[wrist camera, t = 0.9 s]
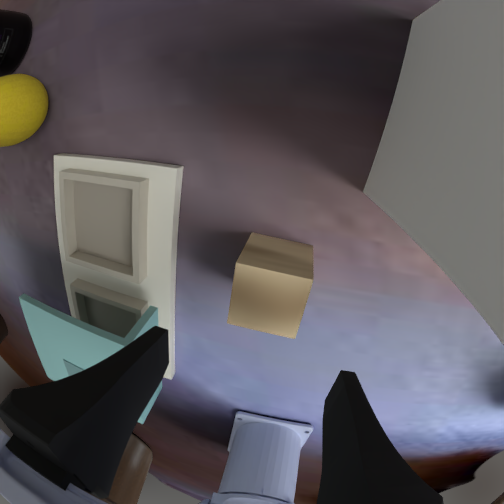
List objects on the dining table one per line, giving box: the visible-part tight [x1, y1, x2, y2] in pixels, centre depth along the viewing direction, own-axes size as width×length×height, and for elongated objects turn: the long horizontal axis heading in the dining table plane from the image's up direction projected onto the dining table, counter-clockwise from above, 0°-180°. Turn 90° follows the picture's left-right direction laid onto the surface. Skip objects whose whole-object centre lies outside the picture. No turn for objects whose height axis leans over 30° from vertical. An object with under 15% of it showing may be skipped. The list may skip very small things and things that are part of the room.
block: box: [227, 232, 313, 339], centre depth 18 cm, size 4×4×4 cm
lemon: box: [0, 74, 48, 147], centre depth 14 cm, size 6×6×8 cm
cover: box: [19, 294, 162, 424], centre depth 21 cm, size 9×10×4 cm
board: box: [54, 153, 183, 380], centre depth 22 cm, size 19×11×2 cm, turn 171°
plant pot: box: [85, 434, 153, 504], centre depth 30 cm, size 16×16×16 cm
